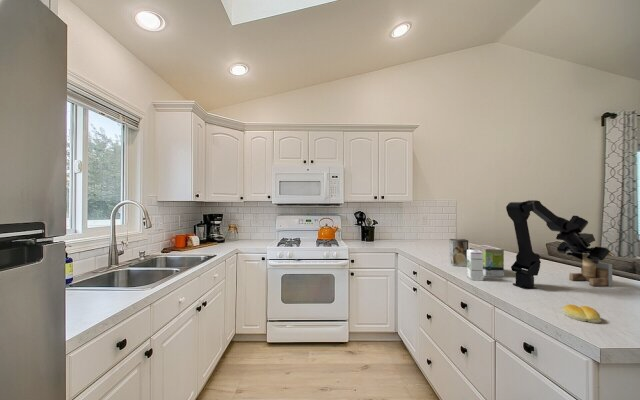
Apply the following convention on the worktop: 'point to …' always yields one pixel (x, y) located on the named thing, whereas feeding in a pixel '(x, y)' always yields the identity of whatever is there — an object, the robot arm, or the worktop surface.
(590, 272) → the dowel
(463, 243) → the coffee box
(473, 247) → the tea box
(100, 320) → the worktop surface
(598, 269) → the cradle
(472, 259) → the syrup box
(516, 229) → the robot arm
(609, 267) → the backstop wall
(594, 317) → the bread roll
